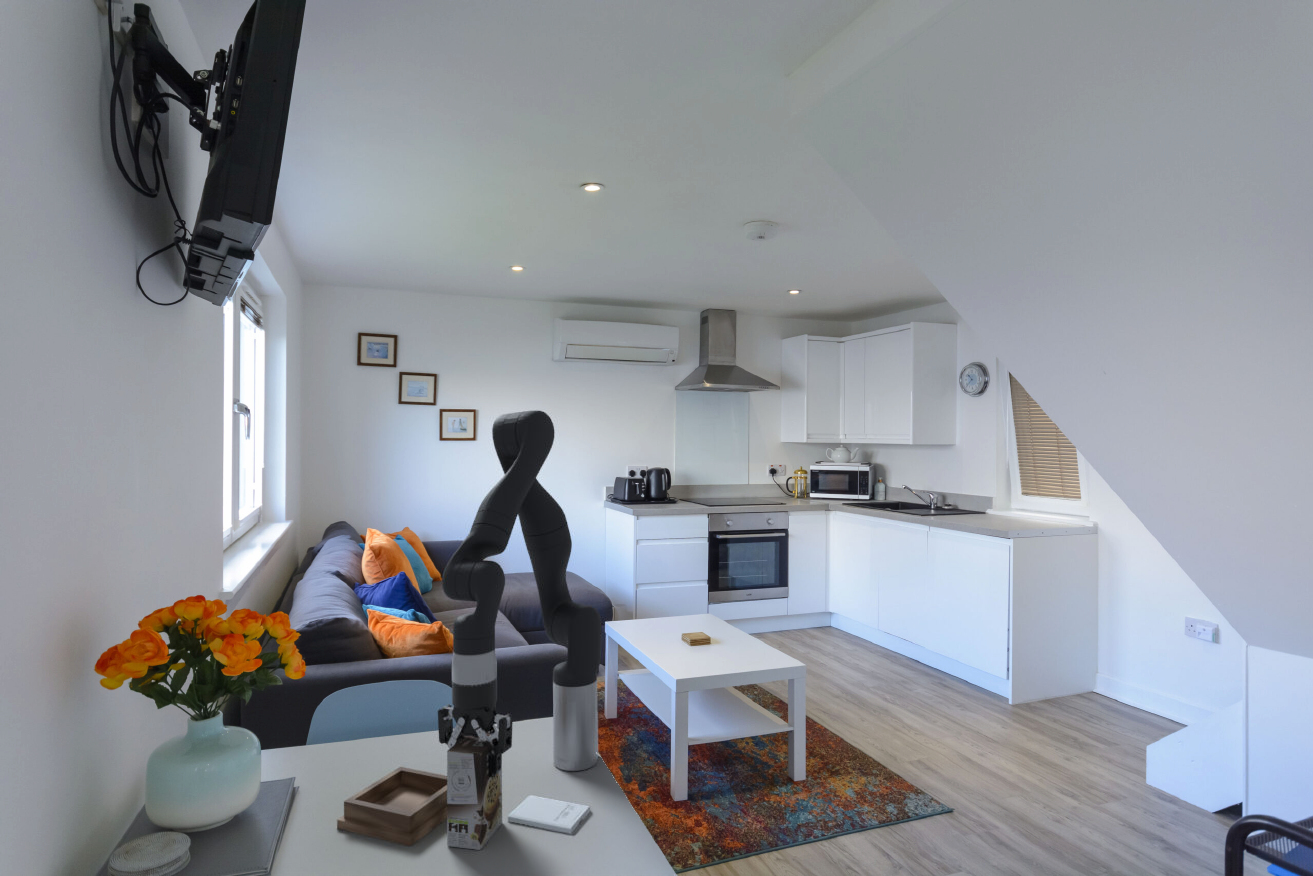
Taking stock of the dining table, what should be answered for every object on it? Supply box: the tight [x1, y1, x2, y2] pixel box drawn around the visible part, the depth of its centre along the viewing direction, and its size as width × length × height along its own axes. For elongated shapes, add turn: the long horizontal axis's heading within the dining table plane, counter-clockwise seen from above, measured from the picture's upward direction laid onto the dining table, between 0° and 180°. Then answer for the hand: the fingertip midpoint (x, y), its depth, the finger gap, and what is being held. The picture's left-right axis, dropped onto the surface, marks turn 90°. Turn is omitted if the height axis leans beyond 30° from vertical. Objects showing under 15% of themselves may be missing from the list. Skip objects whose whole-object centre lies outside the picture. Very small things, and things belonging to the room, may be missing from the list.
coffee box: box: [446, 732, 503, 851], centre depth 126 cm, size 9×6×16 cm
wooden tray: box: [336, 766, 447, 847], centre depth 133 cm, size 16×16×4 cm
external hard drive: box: [507, 794, 591, 835], centre depth 132 cm, size 2×8×12 cm
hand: (475, 771), depth 126 cm, fingers closed on coffee box, 7 cm apart
